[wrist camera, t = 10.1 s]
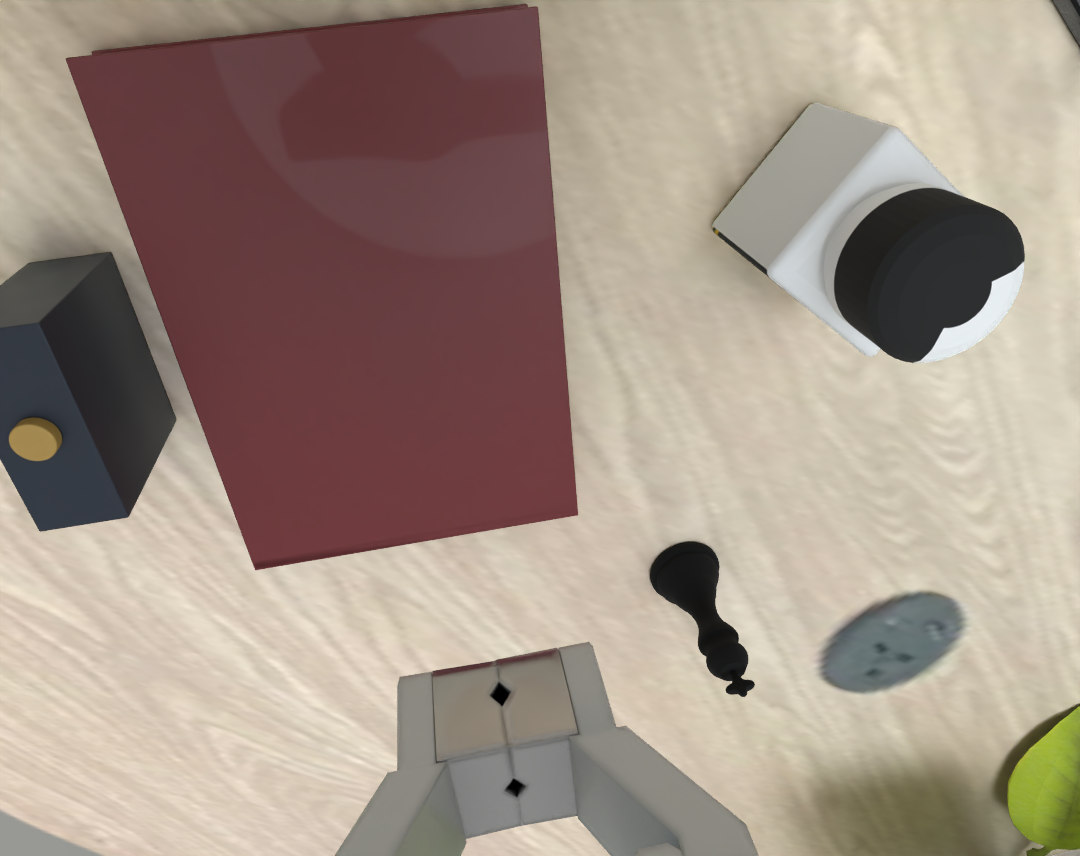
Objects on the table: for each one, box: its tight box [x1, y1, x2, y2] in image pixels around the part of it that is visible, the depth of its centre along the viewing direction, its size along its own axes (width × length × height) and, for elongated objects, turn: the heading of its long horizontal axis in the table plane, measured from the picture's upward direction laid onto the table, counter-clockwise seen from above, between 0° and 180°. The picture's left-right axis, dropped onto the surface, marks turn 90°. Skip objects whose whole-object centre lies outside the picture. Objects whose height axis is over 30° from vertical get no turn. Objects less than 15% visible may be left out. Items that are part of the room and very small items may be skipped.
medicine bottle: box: [712, 103, 1025, 363], centre depth 33 cm, size 7×7×12 cm
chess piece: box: [650, 542, 755, 697], centre depth 44 cm, size 4×4×10 cm
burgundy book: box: [66, 4, 578, 570], centre depth 36 cm, size 24×17×3 cm
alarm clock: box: [0, 253, 176, 531], centre depth 32 cm, size 9×7×8 cm
